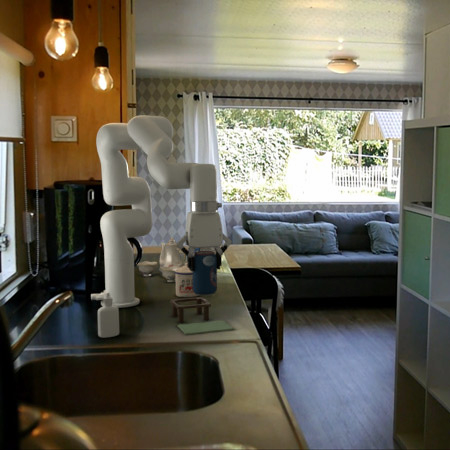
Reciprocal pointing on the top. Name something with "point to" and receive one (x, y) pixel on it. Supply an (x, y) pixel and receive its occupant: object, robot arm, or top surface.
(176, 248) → the chinaware
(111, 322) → the eye dropper bottle
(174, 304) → the can rack
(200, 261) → the soda can
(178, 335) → the top surface
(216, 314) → the top surface
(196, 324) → the mat
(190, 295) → the teacup with lid
